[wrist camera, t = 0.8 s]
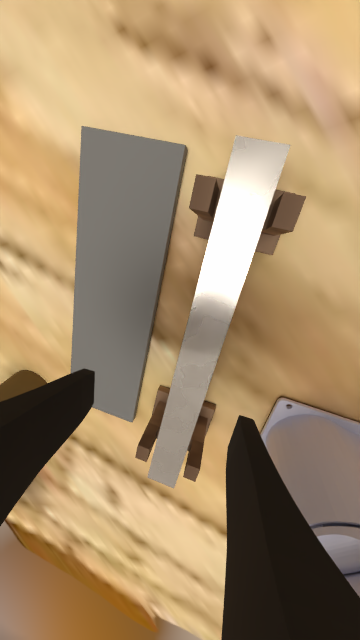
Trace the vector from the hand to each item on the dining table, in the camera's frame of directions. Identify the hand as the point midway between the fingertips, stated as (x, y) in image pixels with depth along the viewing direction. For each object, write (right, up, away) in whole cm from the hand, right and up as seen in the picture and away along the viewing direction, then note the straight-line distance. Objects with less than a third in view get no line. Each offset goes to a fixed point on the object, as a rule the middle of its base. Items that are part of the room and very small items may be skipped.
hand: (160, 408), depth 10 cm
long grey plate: (-5, +6, +11) cm, 13 cm away
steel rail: (+2, +2, +6) cm, 7 cm away
